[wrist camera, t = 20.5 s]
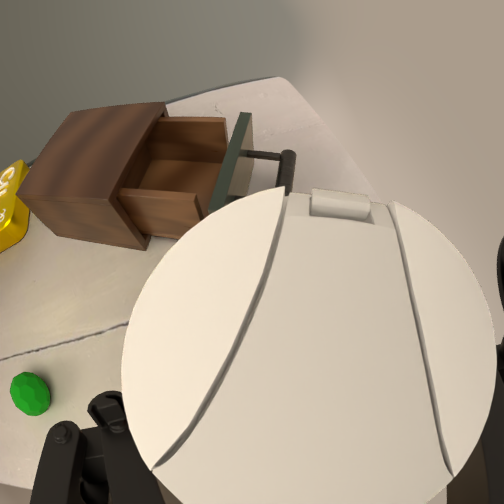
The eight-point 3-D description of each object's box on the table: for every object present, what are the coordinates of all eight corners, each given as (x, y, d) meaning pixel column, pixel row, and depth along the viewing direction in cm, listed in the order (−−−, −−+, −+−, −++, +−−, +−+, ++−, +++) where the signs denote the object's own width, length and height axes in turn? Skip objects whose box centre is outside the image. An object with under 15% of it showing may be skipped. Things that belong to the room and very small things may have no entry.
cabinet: (182, 159, 37) (164, 101, 28) (146, 251, 31) (107, 199, 22) (97, 158, 38) (70, 111, 29) (56, 235, 32) (14, 194, 24)
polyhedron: (64, 402, 23) (36, 400, 19) (43, 423, 22) (16, 423, 17) (43, 366, 25) (16, 360, 20) (24, 388, 23) (-3, 384, 19)
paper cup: (231, 313, 18) (160, 153, 6) (348, 325, 18) (485, 195, 5) (212, 431, 15) (79, 519, 3) (336, 443, 14) (477, 534, 2)
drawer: (295, 168, 34) (300, 117, 27) (282, 263, 28) (288, 219, 21) (154, 157, 36) (136, 112, 29) (117, 238, 31) (84, 198, 23)
